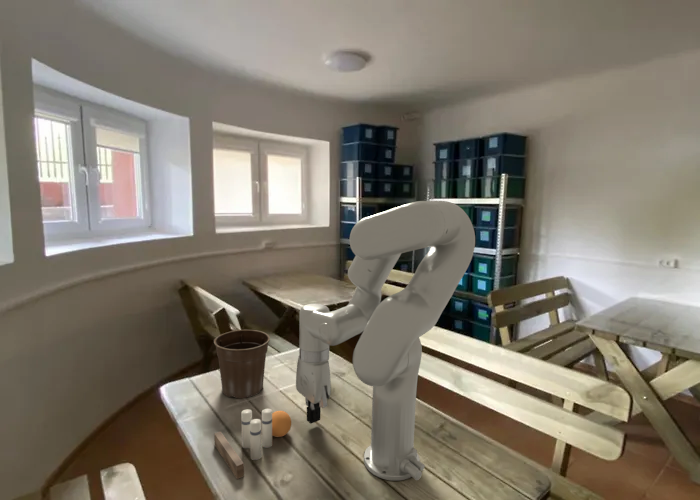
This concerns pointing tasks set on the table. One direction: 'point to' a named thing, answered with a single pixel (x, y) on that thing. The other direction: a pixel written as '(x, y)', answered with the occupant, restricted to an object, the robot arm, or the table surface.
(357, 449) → the table surface
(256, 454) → the back pin
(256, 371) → the plant pot
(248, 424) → the pin
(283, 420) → the ball
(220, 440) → the back wall
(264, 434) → the front pin
